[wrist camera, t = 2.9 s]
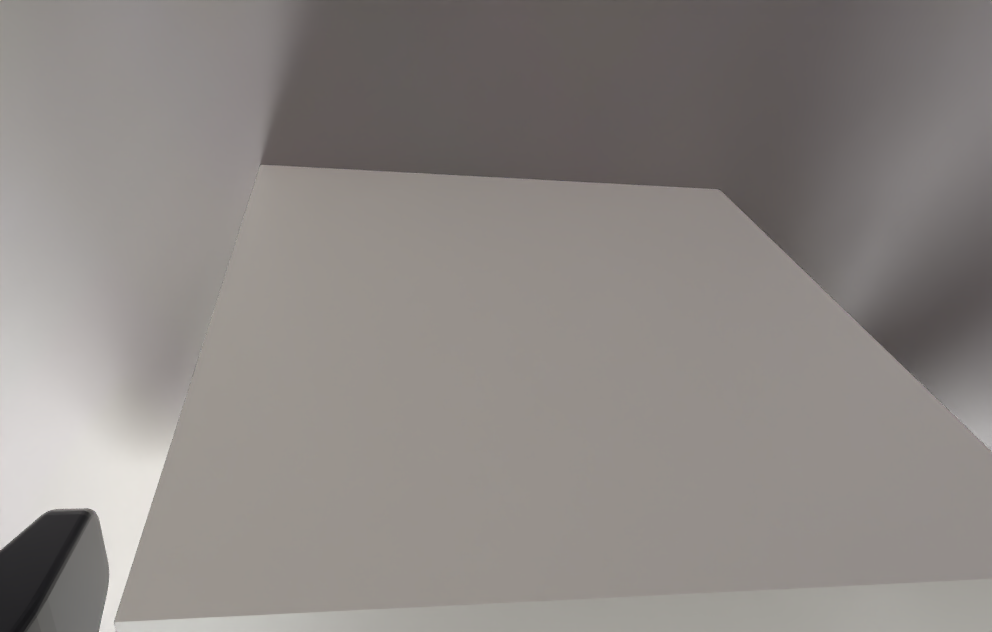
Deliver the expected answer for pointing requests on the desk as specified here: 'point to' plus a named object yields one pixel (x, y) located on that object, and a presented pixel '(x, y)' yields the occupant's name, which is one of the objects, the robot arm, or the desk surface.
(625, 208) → the white block
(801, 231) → the desk surface
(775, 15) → the desk surface
